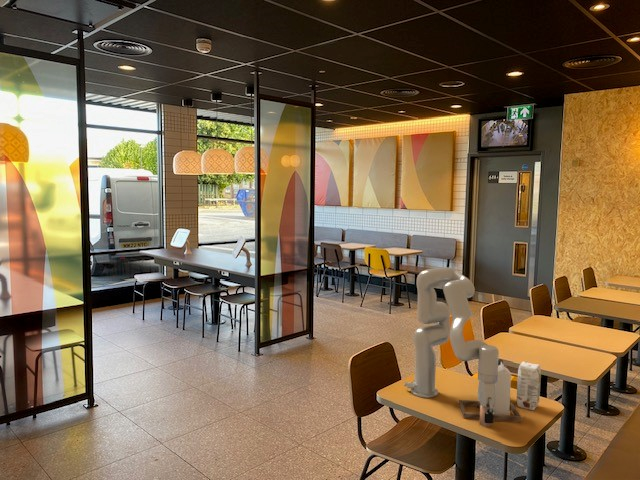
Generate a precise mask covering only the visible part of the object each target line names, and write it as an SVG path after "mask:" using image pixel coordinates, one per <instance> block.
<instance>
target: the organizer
mask: <svg viewBox="0 0 640 480" xmlns="http://www.w3.org/2000/svg"><path fill="white" fill-rule="evenodd" d="M458 406H459V407H458V408H459V410H460V413H461V416H462V418H463V419H469V420H470V419H473V420H480V412H479V413H478V412H467V411H466V409H465V406H467V407H478V410H479V411H480V402H479V400H470V399H469V400H468V399H458ZM509 410H510V411H511V412H512V414H513V415H510V414H509V415H497V414H493V421H499V422H500V421H503V422H513V423H514V422H516V423H517V422H518V423H522V417H521V414H520V413H519V412H518V409H516V407H515V405H514V403H513V402H510V407H509Z"/></svg>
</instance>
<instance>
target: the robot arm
mask: <svg viewBox="0 0 640 480" xmlns="http://www.w3.org/2000/svg"><path fill="white" fill-rule="evenodd" d="M441 287H443V288H442V291H443V294H444V295H443V296H444V298H445V302H446V303H445V302H443V301H437V297H438V296H437V292H436V290H435V288H441ZM416 288H417V310H416V312H417V313H416V314H417V320H418V321H419V323H420V324H423V326H420V327H418V328H417V329H416V330H415V331H414V333H413V343H414V351H415V353H414V379H413V381H411V382H409V381H408V382H406V381H405V382H404V387H406V388H407V389H410V391H411V394H413V395H414V396H415V397H419V398H425V399H426V398H431V399H432V398H435V397H437V396H439V390H438V388H436V368H437V367H436V366H437V355H436V353H435V350H434V347H435V346H439V345H443V344H444V345H445V344H446V343H447V342H448V341H449V340H450V344H451V347H452V350H453V353H454V355H455V357H456V358H457V359H458V360H459V361H461V362H469V361H473V360H477V361H478V364H477V380H478V386H477V387H478V388H477V389H478V390H477V401H479V402H480V404H481V406H482V407H485V411H486V413H485V420H484V422H485V423H492V424H494V420H493V407H494V405H495V383H496V382H497V380H498V359H499V349H498V347H497V346H495V345H491V344H488V343H486V342H485V341H483V340H480V339H473V340H468V341H465V338H464V333H463V331H464V326H465V324H466V323H467V321H469V320H470V319H471V318H472V316H473V312H472V309H471V306H470V303H469V299H470V298H472V297H473V296H474V295H475V291H476V289H475V286H474V283H473V282H472V281H471V280H470V279H469V278H468V277H466V276H465V275H463V274H462V273H461V272H459V271H458V270H456V269H455V268H453V267H449V266H448V267H445V266H444V267H437V268H435V267H434V268H428V269H424V270H422V271H420V272H419V274H418V275H417V277H416ZM451 320H452V321H451ZM429 324H430V325H429ZM424 325H425V326H424ZM487 408H489V409H488V410H487Z"/></svg>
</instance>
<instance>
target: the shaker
mask: <svg viewBox="0 0 640 480" xmlns="http://www.w3.org/2000/svg"><path fill="white" fill-rule="evenodd" d="M488 409H489V408H487V410H488ZM479 413H480V419H479V426H481V427H483V428H490V427H492V424H493V423H485V422H484V420H485V413H486V411H485V407H482V406H481V404H480V410H479Z"/></svg>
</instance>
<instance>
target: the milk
mask: <svg viewBox="0 0 640 480" xmlns="http://www.w3.org/2000/svg"><path fill="white" fill-rule="evenodd" d="M511 383H512V373H511V372H510V370H509V368H507V367H506V366H505V365H504V362H503V363H502V362H501V365H499V366H498V380H497V382H496V383H495V405H494V407H493V414H497V415H510V409H509V407H510V403H511V385H512V384H511Z"/></svg>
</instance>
